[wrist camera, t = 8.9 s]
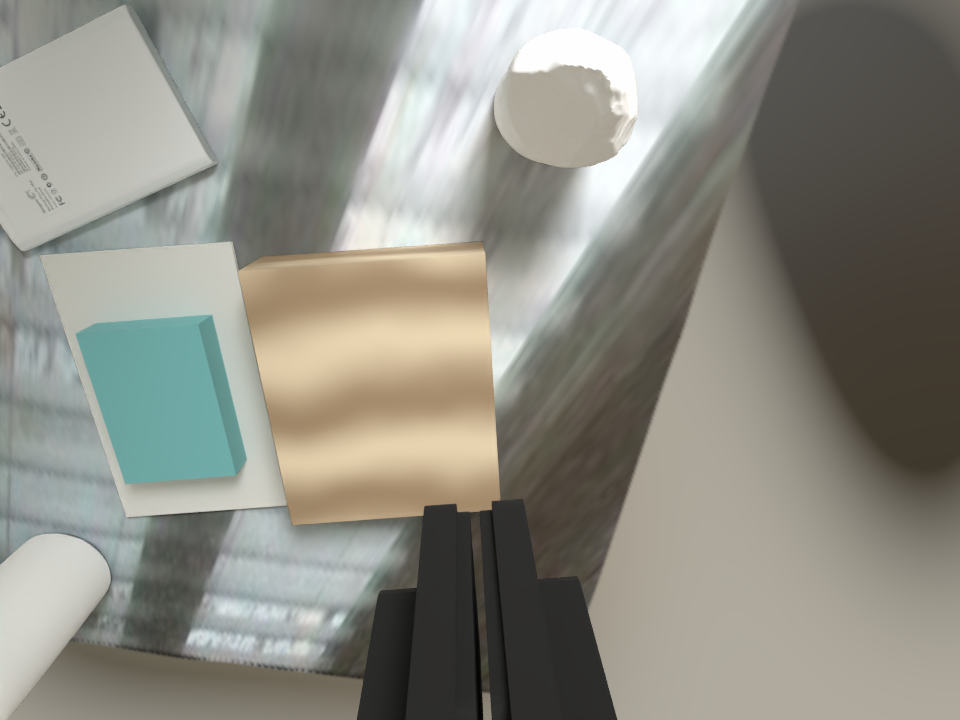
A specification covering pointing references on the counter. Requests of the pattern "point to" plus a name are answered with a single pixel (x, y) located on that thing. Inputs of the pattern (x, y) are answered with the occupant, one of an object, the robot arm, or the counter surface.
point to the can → (44, 607)
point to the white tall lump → (567, 99)
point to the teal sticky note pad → (164, 398)
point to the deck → (377, 379)
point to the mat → (165, 294)
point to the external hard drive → (90, 129)
